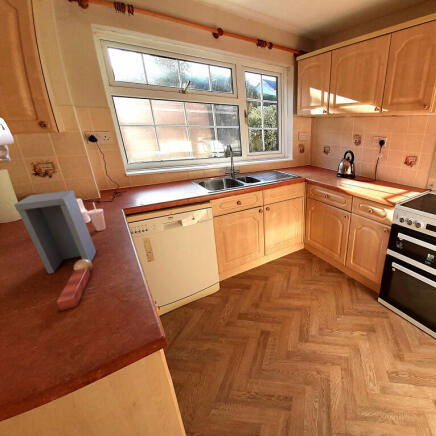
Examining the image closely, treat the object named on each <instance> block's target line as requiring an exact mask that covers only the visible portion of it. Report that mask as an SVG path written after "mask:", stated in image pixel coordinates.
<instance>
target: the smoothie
mask: <svg viewBox="0 0 436 436" xmlns="http://www.w3.org/2000/svg"><path fill="white" fill-rule="evenodd" d="M91 203H92V205H93V208H94V209H90V210H87V215H89V217H90V220H91V221H90V222H91V223H92V224H93V226H94V228H95V230H96V231H97V232H99V231H103V230H104V231H105V230H106V228H107V227H106V223H105V222H106V221H105V217H104V210H103V208H97V207H96V204H95V202H94V201H93V202H91Z"/></svg>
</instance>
